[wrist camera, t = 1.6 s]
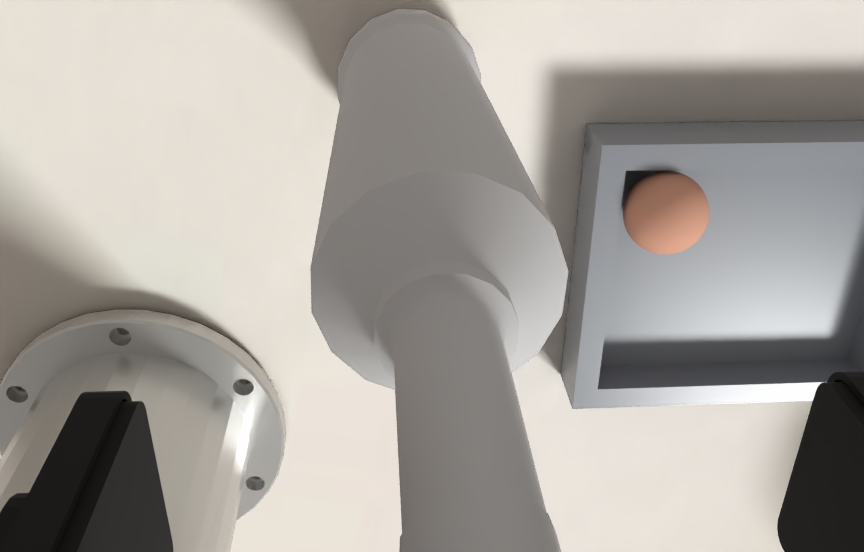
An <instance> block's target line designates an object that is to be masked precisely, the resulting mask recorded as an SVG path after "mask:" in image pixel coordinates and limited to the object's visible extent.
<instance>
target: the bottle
mask: <svg viewBox="0 0 864 552" xmlns="http://www.w3.org/2000/svg"><path fill="white" fill-rule="evenodd" d="M338 100H339V103H340V108H339V114H338V119H337V125H336V130H335V136H334V141H333V147H332V153H331V158H330V164H329V169H328V175H327V180H326V186H325V191H324V197H323V202H322V208H321V214H320V219H319V225H318V230H317V236H316V241H315V247H314V252H313V258H312V263H311V304H312V314H313V316H314V318H315V320H316V322H317V324H318V326H319V328H320V330H321V332H322V334H323V336H324V338H325V340H326V342H327V344H328V346H329V348H330V350H331V352H333V353H334V354H335V355H336V356H337V357H339V358H340V359H341V360H342V361H343V362H345V363H346V364H347V365H348V366H349V367H351V368H352V369H353V370H354V371H355V372H357V373H358V374H359V375H360V376H362V377H363V378H364V379H365V380H367V381H370V382H373V383H376V384H378V385H381V386H384V387H387V388H390V389H393V390H395V396H396V416H397V436H398V457H399V477H400V497H401V518H402V535H401V537H400V552H561V550H560V546H559V542H558V538H557V535H556V532H555V530H554V527H553V525H552V522H551V520H550V517H549V514H548V513H547V512H546V509H545V505H544V501H543V497H542V493H541V489H540V485H539V481H538V477H537V473H536V469H535V465H534V461H533V457H532V453H531V449H530V445H529V441H528V437H527V433H526V429H525V425H524V421H523V417H522V413H521V409H520V405H519V401H518V397H517V393H516V389H515V385H514V381H513V377H512V372H514V371H515V370H516V369H518V368H519V367H520V366H522V365H523V364H524V363H526V362H527V361H528V360H530V359H531V358H532V357H534V356H535V355H536V354H538V353H539V351H540V350H541V348H542V346H543V345H544V343H545V342H546V340H547V338H548V337H549V335H550V334H551V332H552V330H553V329H554V327H555V326H556V324H557V322H558V321H559V319H560V318H561V316H562V313H563V306H564V299H565V292H566V286H567V279H568V272H569V271H568V268H567V265H566V262H565V258H564V255H563V252H562V249H561V246H560V242H559V239H558V236H557V233H556V230H555V227H554V225H553V223H552V221H551V219H550V217H549V215H548V214H547V212H546V210H545V208H544V206H543V204H542V202H541V200H540V198H539V196H538V194H537V192H536V190H535V188H534V186H533V184H532V182H531V180H530V178H529V176H528V175H527V173H526V171H525V169H524V167H523V165H522V163H521V161H520V159H519V157H518V155H517V153H516V151H515V149H514V147H513V145H512V143H511V141H510V139H509V137H508V136H507V134H506V132H505V130H504V128H503V126H502V124H501V122H500V120H499V118H498V116H497V114H496V112H495V110H494V108H493V106H492V104H491V102H490V100H489V98H488V97H487V95H486V93H485V91H484V89H483V87H482V85H481V73H480V70H479V67H478V64H477V61H476V58H475V55H474V52H473V49H472V47H471V45H470V44H469V43H468V42H467V40H466V39H465V38H464V37H463V36H462V35H461V34H460V32H459V31H458V30H457V29H456V28H455V27H454V26H453V25H452V23H451V22H449V21H447V20H445V19H443V18H441V17H438V16H436V15H434V14H432V13H430V12H428V11H426V10H416V9H395V10H392V11H390V12H387V13H384V14H382V15H379V16H377V17H374V18H371V19H370V20H369V21H368V22H367V23H366V24H365V25H364V26H363V27H362V28H361V29H360V30H359V31H358V32H357V33H356V34H355V35H354V36H353V37H352V38H351V39H350V41H349V43H348V45H347V48H346V50H345V52H344V55H343V57H342V60H341V62H340V64H339V67H338Z"/></svg>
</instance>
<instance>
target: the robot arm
mask: <svg viewBox="0 0 864 552" xmlns="http://www.w3.org/2000/svg"><path fill="white" fill-rule="evenodd" d="M285 439H286V427H285V417H284V411H283V408H282V405H281V402H280V399H279V396H278V394H277V391H276V390H275V388H274V386H273V385H272V383H271V381H270V380H269V378H268V376H267V375H266V373H265V372H264V371H263V370H262V368H261V367H260V366H259V365H258V364H257V363H256V362H255V361H254V360H253V359H252V358H251V356H250V355H249V354H248V353H246V352H245V351H244V350H242V349H241V348H240V347H239V346H237V345H236V344H235V343H233V342H232V341H231V340H229V339H228V338H227V337H225V336H223V335H221V334H219V333H217V332H215V331H213V330H211V329H210V328H208V327H206V326H204V325H202V324H199V323H196V322H193V321H190V320H187V319H184V318H181V317H179V316H176V315H171V314H166V313H160V312H154V311H148V310H120V309H115V310H108V311H101V312H95V313H88V314H85V315H82V316H79V317H76V318H73V319H70V320H67V321H64V322H61V323H59V324H58V325H56V326H54V327H52V328H51V329H49V330H47V331H45V332H44V333H42V334H40V335H39V336H37V337H36V338H35V339H34V340H33V341H32V342H31V343H30V344H29V345H28V346H26V347H25V348H24V349H23V350H22V351H21V352H20V354H19V355H18V357H17V358H16V359H15V361H14V362H13V364H12V365H11V366H10V368H9V369H8V370H7V372H6V374H5V376H4V378H3V379H2V381H1V383H0V455H1V459H0V552H230V549H231V544H232V539H233V534H234V529H235V523H236V521H237V520H238V519H240V518H241V517H242V516H244V515H245V514H246V513H248V512H249V511H250V510H252V509H253V508H254V507H255V506H256V505H257V504H258V503H259V502H260V501H261V500H262V499H263V497H264V496H265V495H266V494H267V493H268V492H269V490H270V488H271V486H272V485H273V483H274V481H275V479H276V477H277V476H278V473H279V470H280V466H281V463H282V459H283V455H284V448H285ZM778 536H779V540H780V543H781V546H782V548H783V550H784V551H785V552H864V371H844V372H835V373H833V374H832V375H831V376H830V377H829V379H828V381H827V382H824V383H821V384H820V385H819V386H818V387H817V390H816V392H815V396H814V399H813V403H812V406H811V409H810V413H809V416H808V420H807V423H806V426H805V430H804V433H803V437H802V440H801V443H800V447H799V450H798V454H797V457H796V460H795V464H794V467H793V471H792V474H791V477H790V481H789V484H788V488H787V491H786V494H785V498H784V501H783V505H782V508H781V511H780V515H779V518H778Z"/></svg>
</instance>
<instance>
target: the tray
mask: <svg viewBox="0 0 864 552" xmlns="http://www.w3.org/2000/svg"><path fill="white" fill-rule="evenodd" d="M661 171H673V172H678V173H681V174H684V175H686V176H688V177H690V178H692V179H693V180H694V181H695V182H697V183H698V184H699V185H700V187H701V188H702V189H703V191H704V193H705V195H706V197H707V200H708V203H709V221H708V224H707V227H706V230H705V232H704V233H703V235H702V236H701V238H700V239H699V240H698V241H697V242H696V243H695V244H694V245H692V246H691V247H690V248H688V249H686V250H684V251H682V252H679V253H675V254H668V255H664V254H655V253H652V252H649V251H647V250H645V249H643V248H641V247H640V246H639V245H637V244H636V243H635V242H634V241H633V240H632V238H631V237H630V236H629V234H628V232H627V230H626V228H625V225H624V220H623V207H624V202H625V199H626V197H627V195H628V193H629V192H630V190H631V189H632V187H633V186H634V185H635V184H636V183H637V182H638V181H640V180H641V179H642V178H644V177H646V176H648V175H650V174H653V173H656V172H661ZM844 371H864V120H855V121H771V122H688V123H605V124H587V125H586V134H585V144H584V154H583V164H582V174H581V183H580V193H579V203H578V213H577V222H576V232H575V242H574V252H573V262H572V271H571V281H570V291H569V301H568V311H567V320H566V330H565V340H564V350H563V359H562V369H561V377H562V380H563V383H564V386H565V389H566V392H567V394H568V397H569V400H570V403H571V406H572V409H583V408H613V407H643V406H673V405H703V404H733V403H763V402H792V401H813V399H814V396H815V392H816V390H817V387H818V386H819V385H820V384H821V383H824V382H827V381H828V379H829V377H830V376H831V375H832V374H833V373H835V372H844Z"/></svg>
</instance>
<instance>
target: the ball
mask: <svg viewBox="0 0 864 552" xmlns="http://www.w3.org/2000/svg"><path fill="white" fill-rule="evenodd" d="M623 220H624V225H625V228H626V230H627V232H628V234H629V236H630V237H631V238H632V240H633V241H634V242H635V243H636V244H637V245H639V246H640V247H641V248H643V249H645V250H647V251H649V252H652V253H655V254H664V255H668V254H675V253H679V252H682V251H684V250H686V249H688V248H690V247H691V246H692V245H694V244H695V243H696V242H697V241H698V240H699V239H700V238H701V236H702V235H703V233H704V232H705V230H706V227H707V224H708V221H709V203H708V200H707V197H706V195H705V193H704V191H703V189H702V188H701V187H700V185H699V184H698V183H697V182H695V181H694V180H693V179H692V178H690V177H688V176H686V175H684V174H681V173H678V172H673V171H661V172H656V173H653V174H650V175H648V176H646V177H644V178H642V179H641V180H640V181H638V182H637V183H636V184H635V185H634V186H633V187H632V189H631V190H630V192H629V193H628V195H627V197H626V199H625V202H624V207H623Z"/></svg>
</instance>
